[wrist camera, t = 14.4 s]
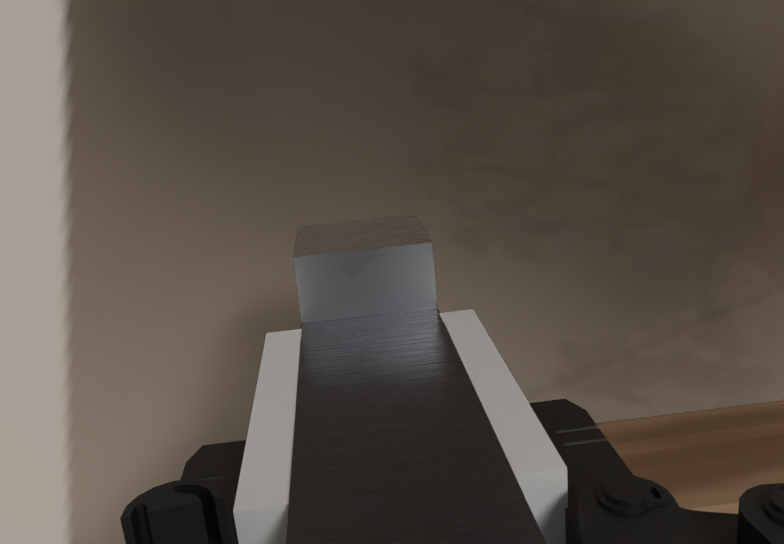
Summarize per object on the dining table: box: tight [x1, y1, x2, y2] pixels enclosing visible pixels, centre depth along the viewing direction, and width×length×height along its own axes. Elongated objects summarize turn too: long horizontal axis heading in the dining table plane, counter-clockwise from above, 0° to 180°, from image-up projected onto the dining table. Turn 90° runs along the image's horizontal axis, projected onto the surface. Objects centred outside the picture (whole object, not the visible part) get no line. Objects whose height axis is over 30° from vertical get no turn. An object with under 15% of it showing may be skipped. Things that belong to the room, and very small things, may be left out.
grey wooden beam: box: [286, 214, 546, 544], centre depth 13 cm, size 6×3×14 cm, turn 5°
